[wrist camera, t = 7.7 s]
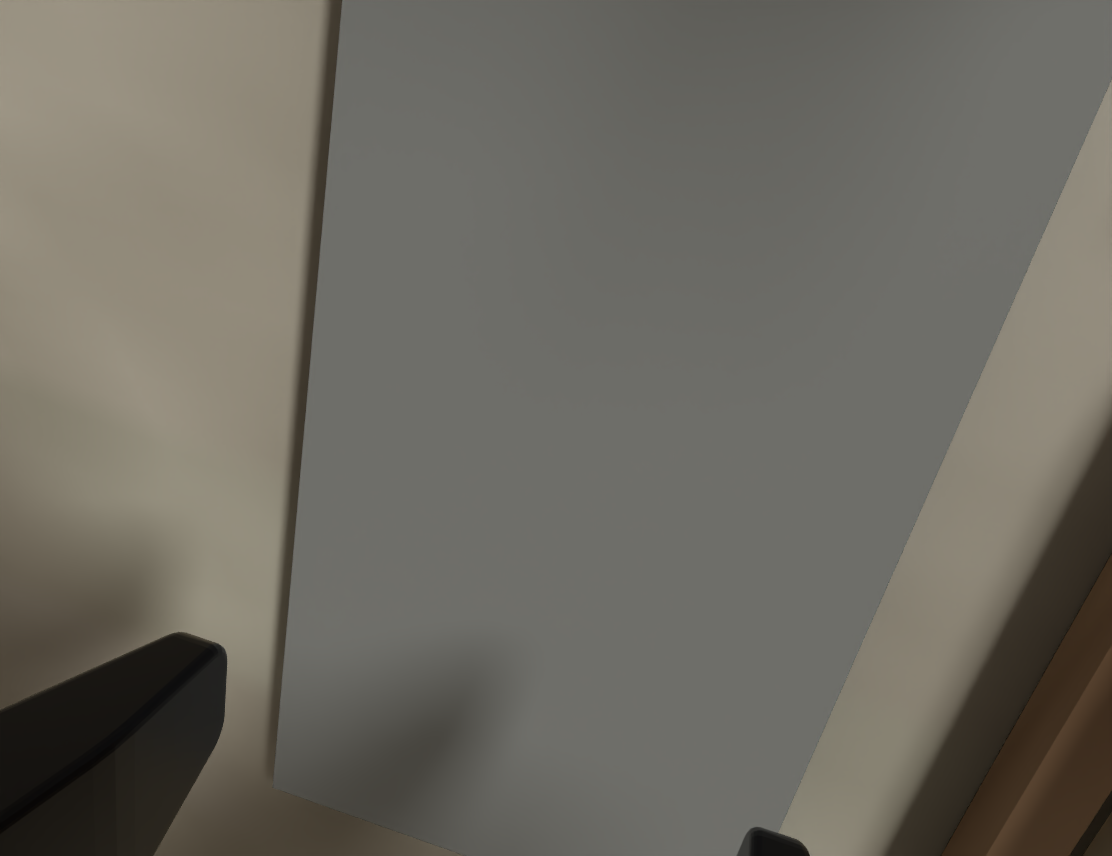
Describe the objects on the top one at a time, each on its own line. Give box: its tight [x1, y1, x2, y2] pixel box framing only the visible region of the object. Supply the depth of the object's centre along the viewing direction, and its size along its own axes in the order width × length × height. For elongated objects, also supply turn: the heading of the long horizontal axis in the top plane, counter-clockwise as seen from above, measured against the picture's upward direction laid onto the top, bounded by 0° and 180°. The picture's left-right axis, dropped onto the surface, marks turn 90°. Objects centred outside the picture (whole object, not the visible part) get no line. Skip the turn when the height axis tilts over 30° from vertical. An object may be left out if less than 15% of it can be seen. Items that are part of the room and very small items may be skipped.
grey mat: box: [273, 0, 1112, 856], centre depth 12 cm, size 7×13×1 cm, turn 169°
